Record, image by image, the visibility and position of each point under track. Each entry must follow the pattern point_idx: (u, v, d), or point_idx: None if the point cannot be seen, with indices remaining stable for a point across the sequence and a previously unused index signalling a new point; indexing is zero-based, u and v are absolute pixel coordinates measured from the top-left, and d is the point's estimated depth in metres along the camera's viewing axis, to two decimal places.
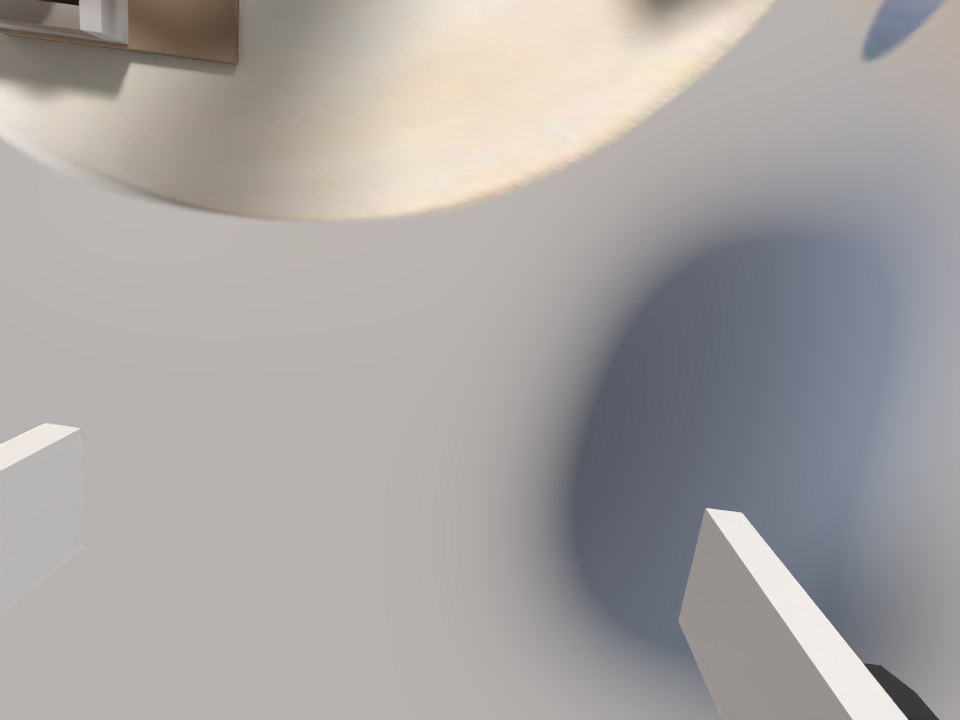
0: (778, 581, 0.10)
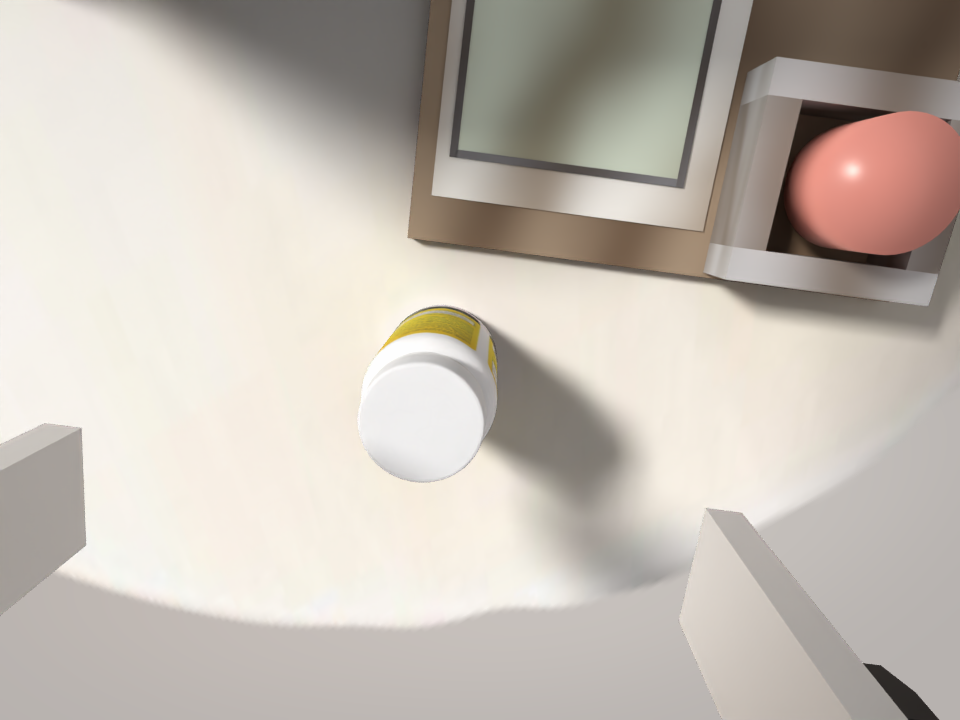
0: (778, 581, 0.10)
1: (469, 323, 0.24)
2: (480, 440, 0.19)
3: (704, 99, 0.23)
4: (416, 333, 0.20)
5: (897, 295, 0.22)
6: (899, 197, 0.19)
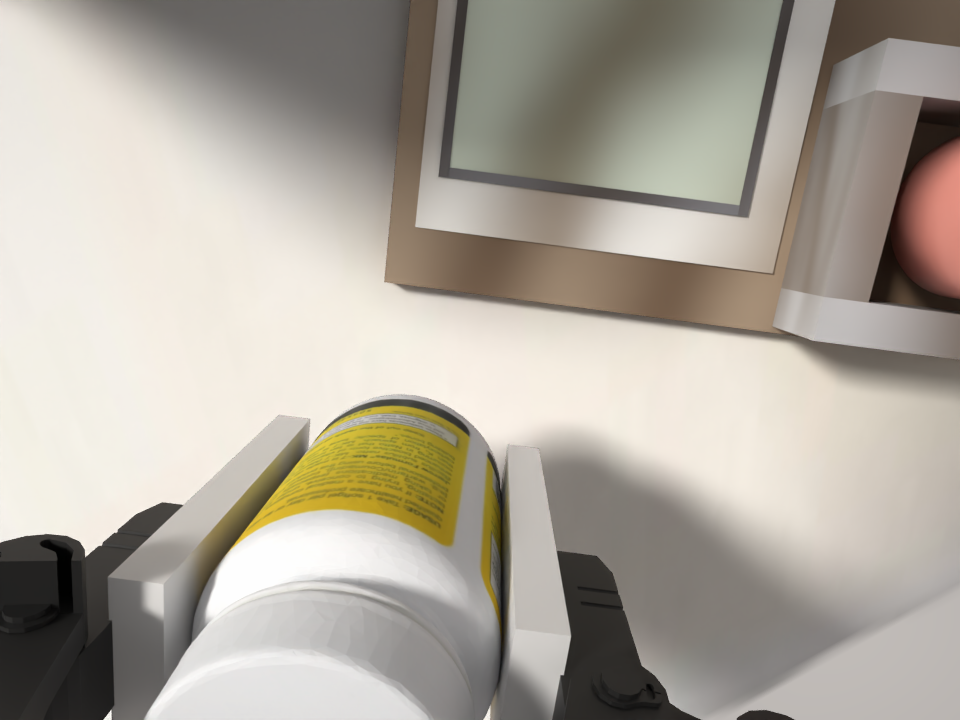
0: (529, 492, 0.12)
1: (447, 444, 0.12)
2: None
3: (775, 100, 0.17)
4: (313, 511, 0.09)
5: None
6: None
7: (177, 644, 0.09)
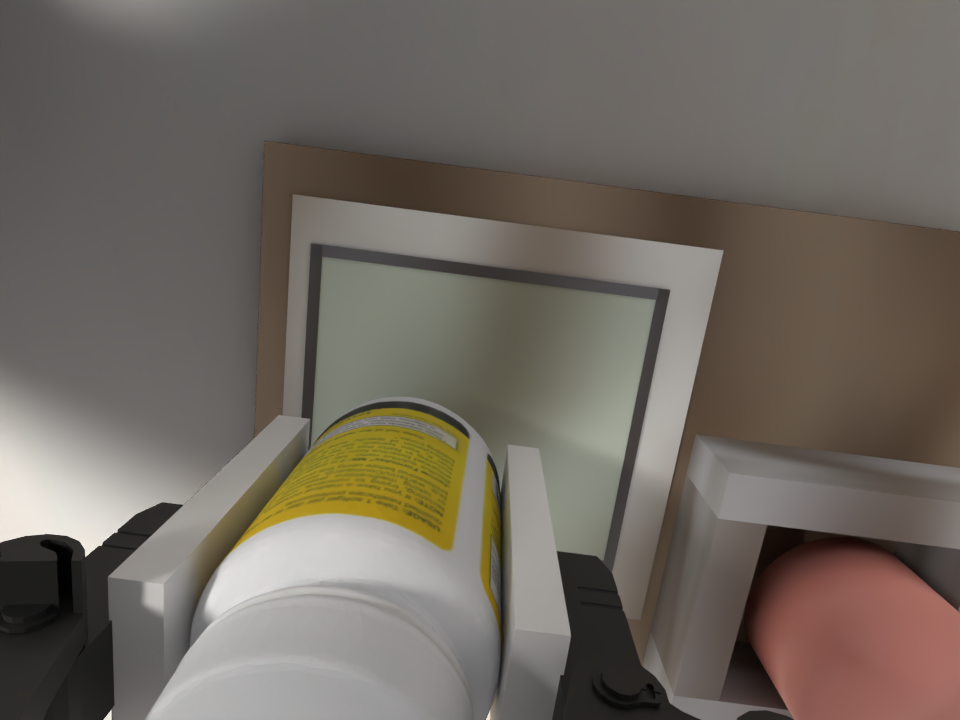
0: (529, 492, 0.12)
1: (446, 446, 0.12)
2: None
3: (638, 465, 0.17)
4: (312, 515, 0.09)
5: None
6: (906, 716, 0.13)
7: (177, 644, 0.09)
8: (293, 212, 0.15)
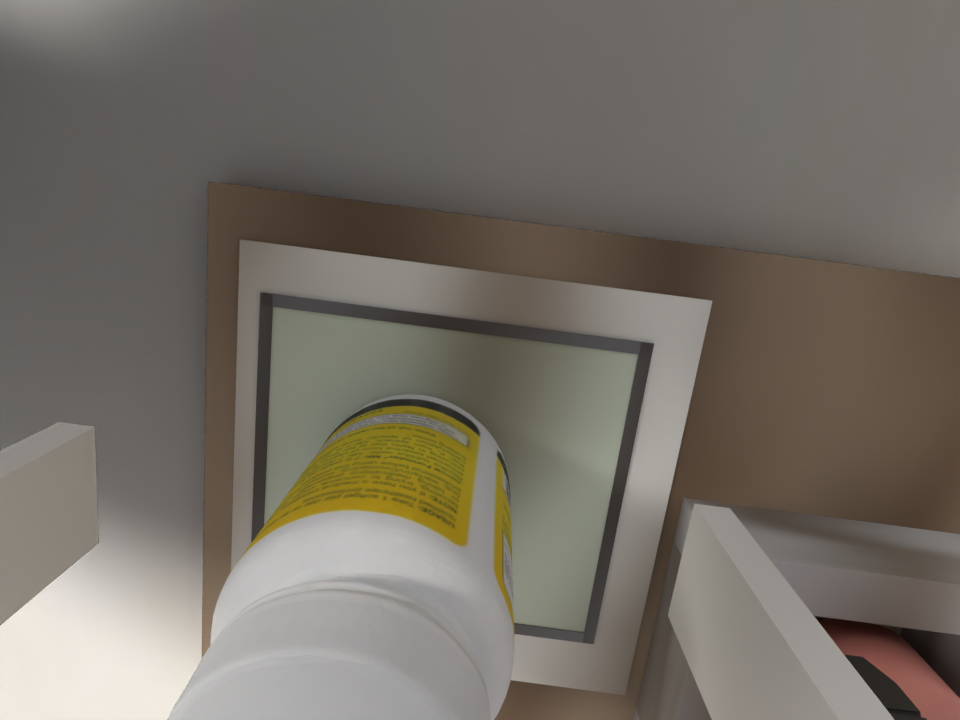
0: (763, 574, 0.10)
1: (458, 444, 0.12)
2: None
3: (620, 530, 0.15)
4: (330, 511, 0.09)
5: None
6: None
7: None
8: (241, 259, 0.14)
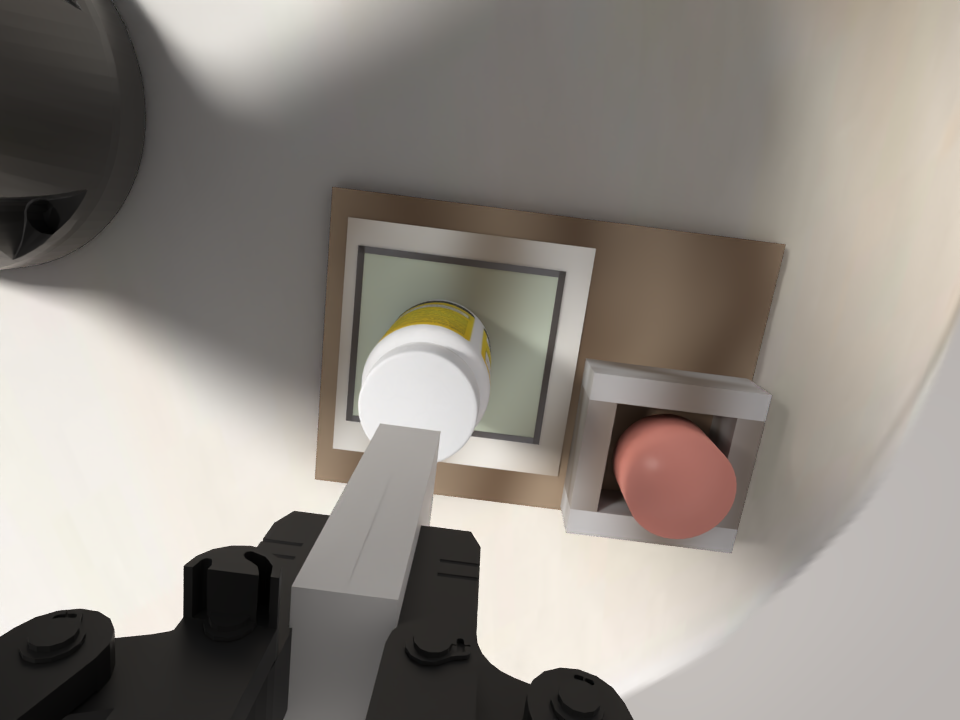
0: (413, 471, 0.12)
1: (464, 316, 0.25)
2: (473, 424, 0.20)
3: (552, 377, 0.28)
4: (413, 325, 0.22)
5: (706, 545, 0.27)
6: (683, 498, 0.24)
7: None
8: (348, 227, 0.27)
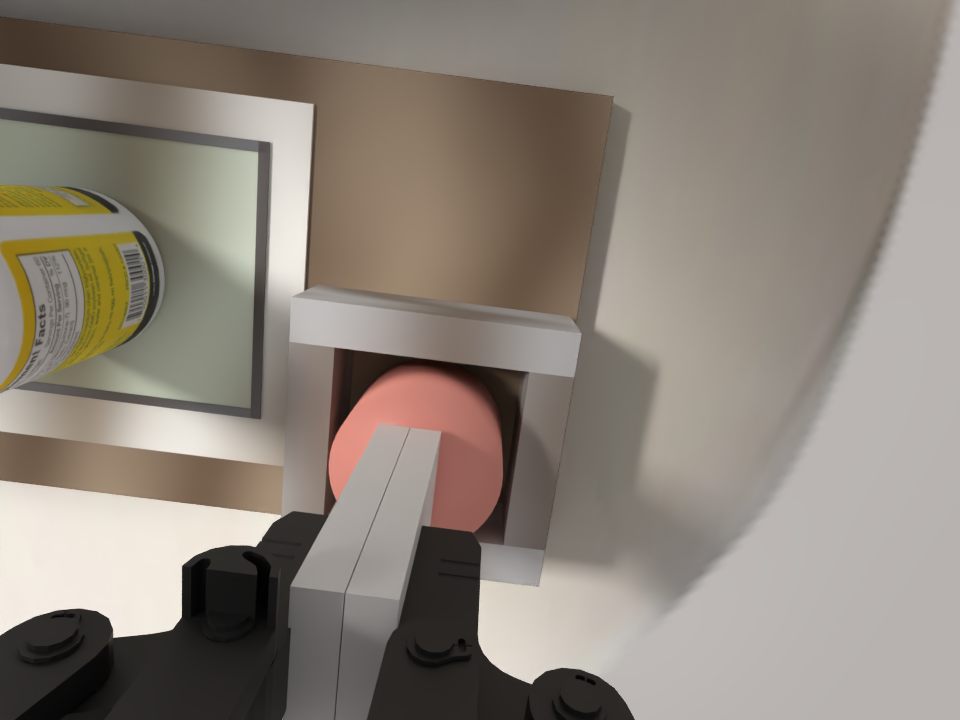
0: (413, 471, 0.12)
1: (64, 200, 0.15)
2: None
3: (270, 315, 0.18)
4: None
5: (498, 574, 0.18)
6: None
7: None
8: None
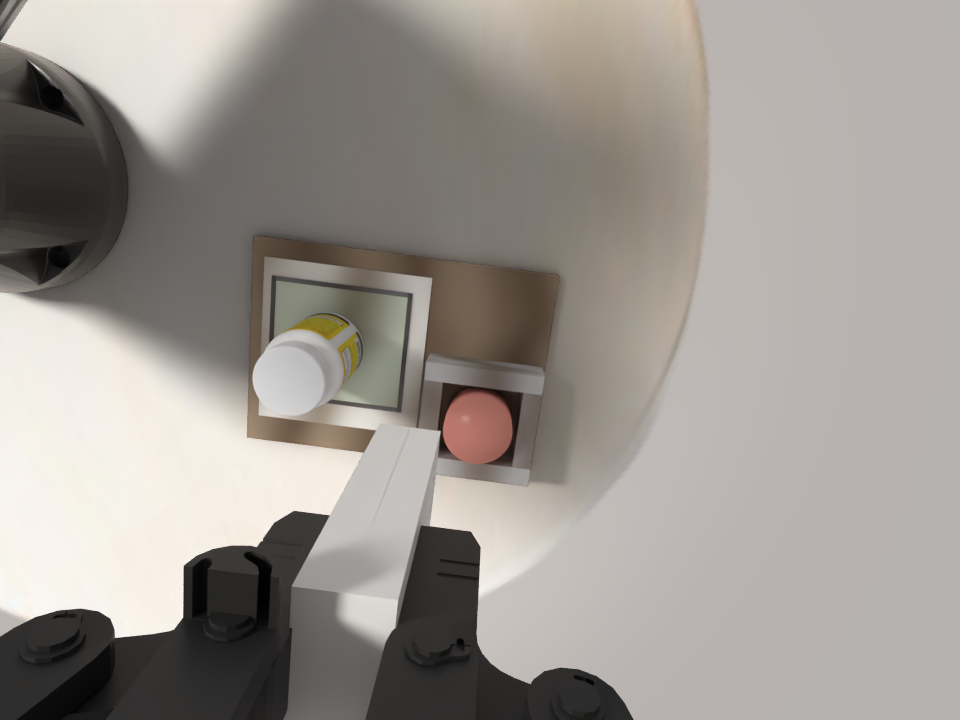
0: (413, 471, 0.12)
1: (337, 324, 0.38)
2: (323, 391, 0.33)
3: (408, 366, 0.41)
4: (292, 329, 0.34)
5: (510, 480, 0.40)
6: (479, 437, 0.38)
7: None
8: (264, 263, 0.39)
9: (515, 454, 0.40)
